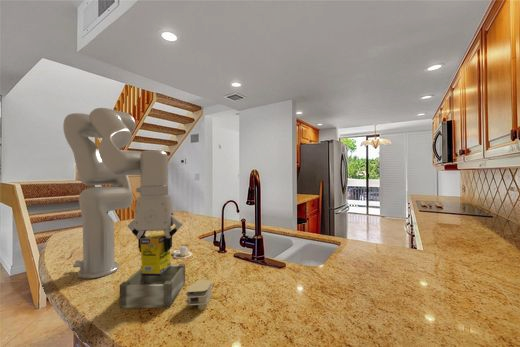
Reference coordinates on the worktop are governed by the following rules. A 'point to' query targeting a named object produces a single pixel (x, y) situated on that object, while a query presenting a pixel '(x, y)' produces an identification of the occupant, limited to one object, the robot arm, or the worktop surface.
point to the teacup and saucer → (181, 252)
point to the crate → (152, 289)
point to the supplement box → (154, 255)
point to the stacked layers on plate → (199, 293)
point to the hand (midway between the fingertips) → (155, 250)
